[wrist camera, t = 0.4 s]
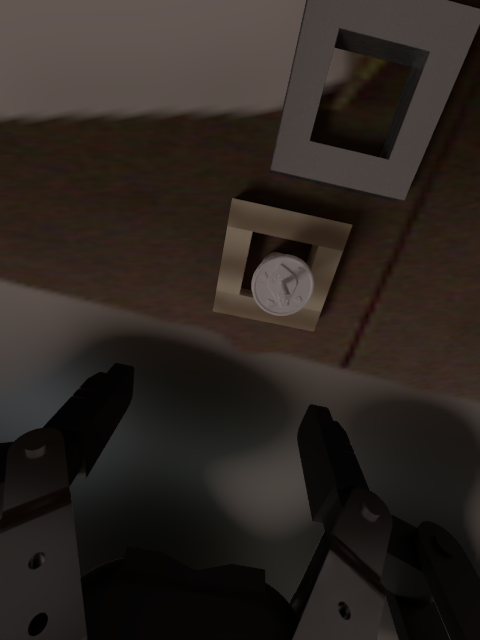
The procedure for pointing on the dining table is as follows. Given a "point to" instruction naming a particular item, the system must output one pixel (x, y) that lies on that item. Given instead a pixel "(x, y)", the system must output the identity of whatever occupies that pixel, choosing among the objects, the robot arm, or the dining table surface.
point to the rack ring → (415, 102)
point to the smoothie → (282, 284)
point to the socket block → (283, 224)
